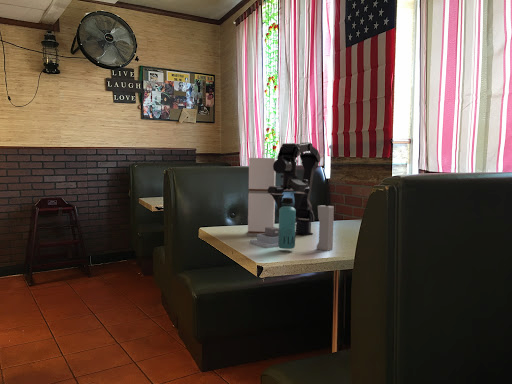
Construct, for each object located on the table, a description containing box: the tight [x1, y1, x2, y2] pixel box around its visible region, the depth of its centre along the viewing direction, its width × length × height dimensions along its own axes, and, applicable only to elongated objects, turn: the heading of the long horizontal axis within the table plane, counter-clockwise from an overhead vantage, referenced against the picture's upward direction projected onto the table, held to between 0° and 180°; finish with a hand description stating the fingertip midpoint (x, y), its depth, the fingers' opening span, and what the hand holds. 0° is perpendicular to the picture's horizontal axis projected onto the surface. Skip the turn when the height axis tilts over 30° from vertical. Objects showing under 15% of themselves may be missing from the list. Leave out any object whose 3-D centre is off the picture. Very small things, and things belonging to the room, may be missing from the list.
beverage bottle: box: [278, 197, 297, 250], centre depth 146 cm, size 6×7×20 cm
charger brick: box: [265, 226, 279, 237], centre depth 160 cm, size 4×5×5 cm
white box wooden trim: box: [247, 157, 277, 237], centre depth 181 cm, size 11×11×35 cm
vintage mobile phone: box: [316, 184, 335, 252], centre depth 150 cm, size 4×5×25 cm
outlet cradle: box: [249, 233, 279, 249], centre depth 160 cm, size 14×12×4 cm
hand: (288, 209), depth 167 cm, fingers open, 9 cm apart
